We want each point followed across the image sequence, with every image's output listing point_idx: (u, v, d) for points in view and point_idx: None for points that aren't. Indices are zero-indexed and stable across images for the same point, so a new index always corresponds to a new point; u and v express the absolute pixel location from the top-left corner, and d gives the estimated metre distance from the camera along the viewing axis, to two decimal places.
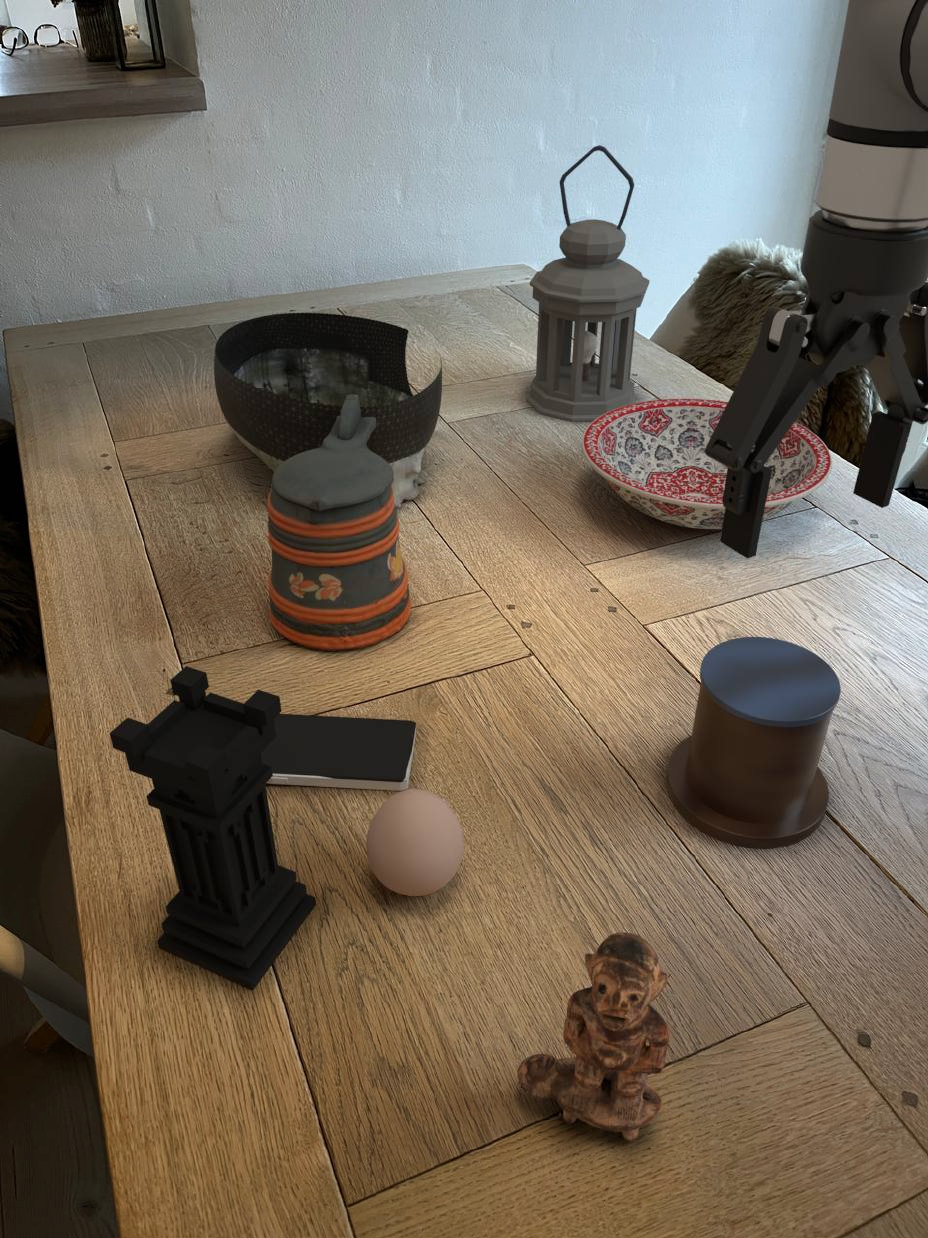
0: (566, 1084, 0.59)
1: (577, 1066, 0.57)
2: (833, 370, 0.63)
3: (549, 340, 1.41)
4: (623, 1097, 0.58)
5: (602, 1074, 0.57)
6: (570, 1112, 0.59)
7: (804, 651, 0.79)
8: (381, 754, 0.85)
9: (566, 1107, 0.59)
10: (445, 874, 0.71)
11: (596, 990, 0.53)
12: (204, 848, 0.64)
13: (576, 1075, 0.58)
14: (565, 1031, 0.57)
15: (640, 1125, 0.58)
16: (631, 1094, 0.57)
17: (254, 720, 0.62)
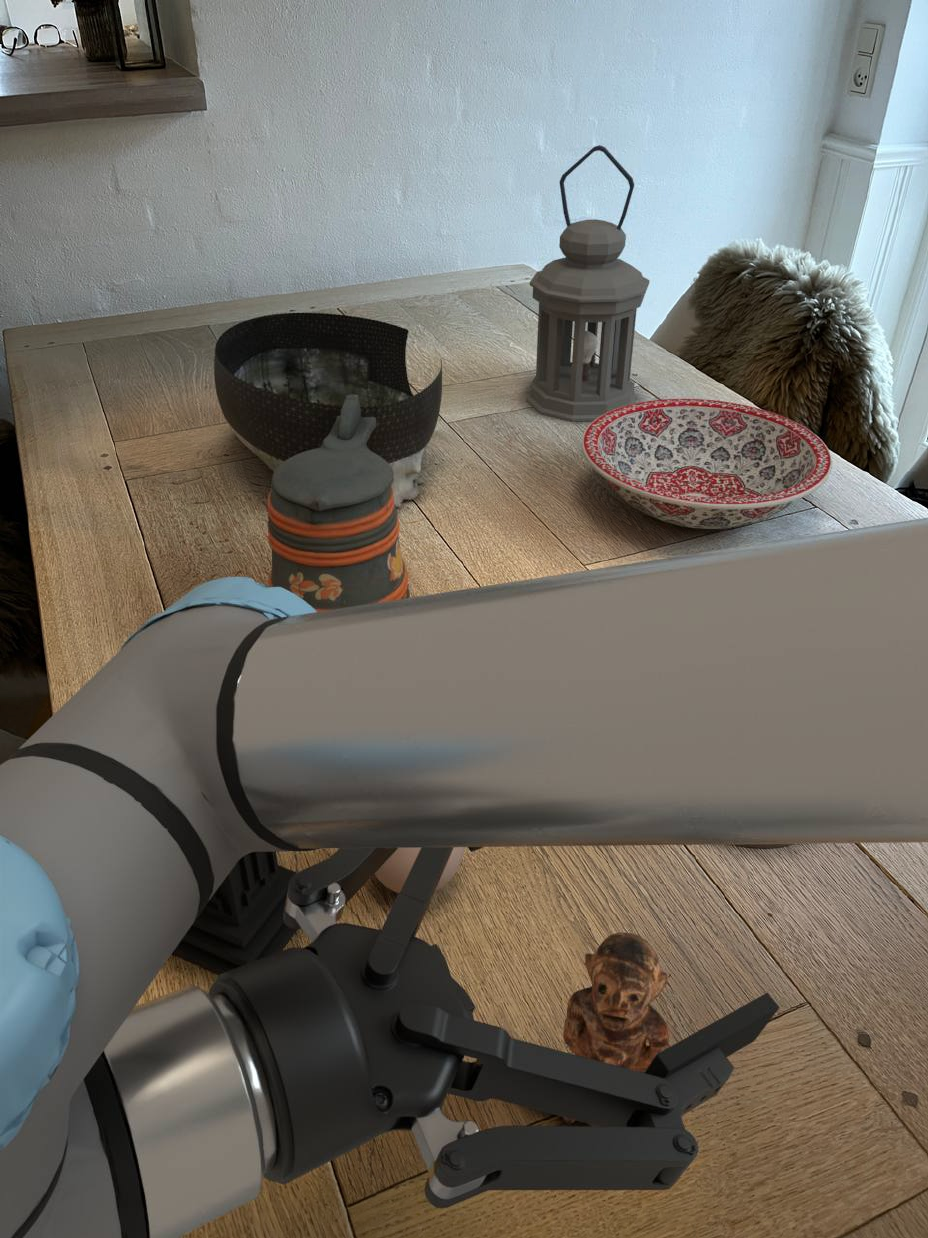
0: None
1: None
2: (484, 1035, 0.38)
3: (549, 340, 1.41)
4: None
5: None
6: None
7: None
8: None
9: None
10: (445, 874, 0.71)
11: (596, 990, 0.53)
12: None
13: None
14: (565, 1031, 0.57)
15: None
16: None
17: None
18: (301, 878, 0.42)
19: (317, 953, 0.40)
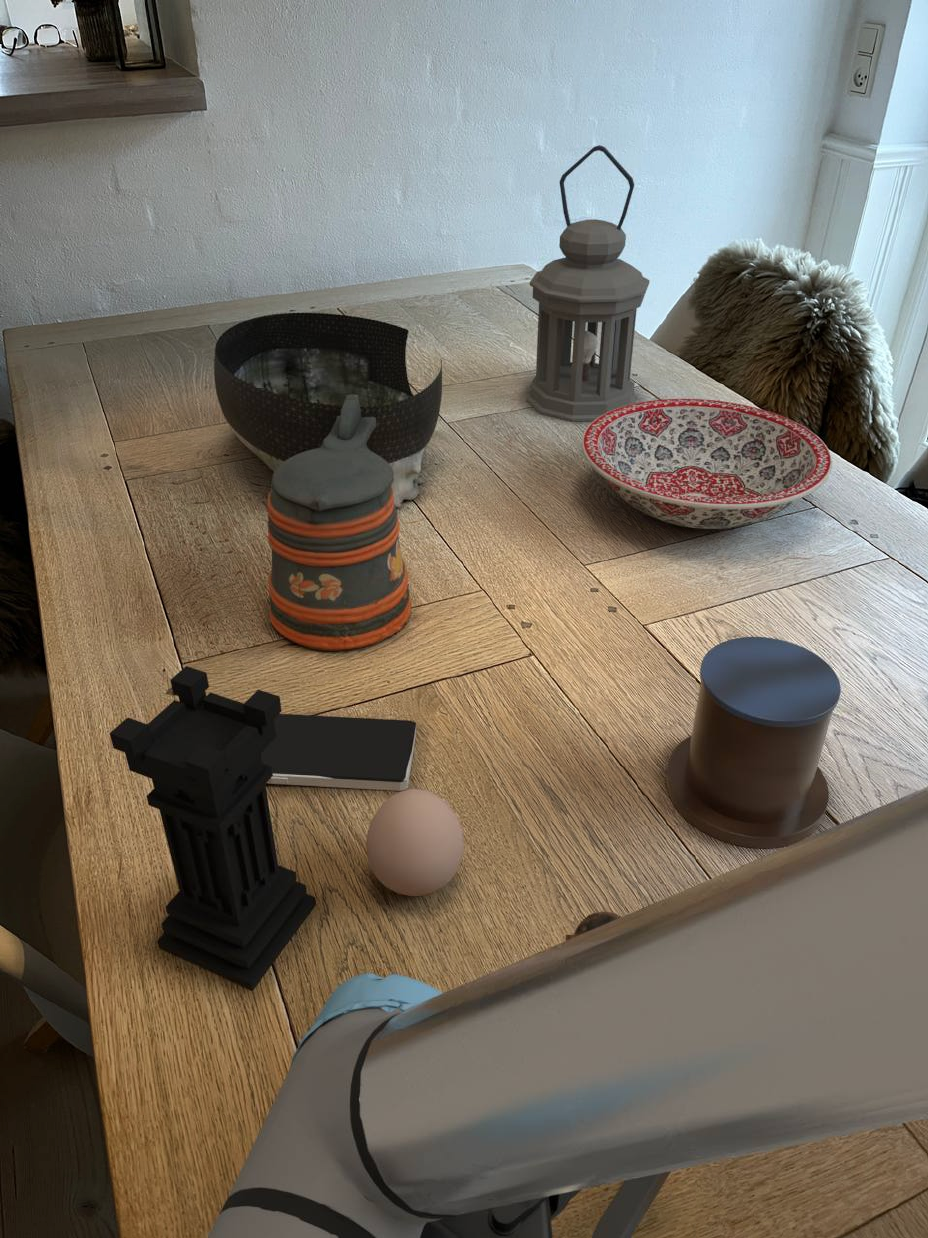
0: None
1: None
2: None
3: (549, 340, 1.41)
4: None
5: None
6: None
7: (804, 651, 0.79)
8: (381, 754, 0.85)
9: None
10: (445, 874, 0.71)
11: None
12: (204, 848, 0.64)
13: None
14: None
15: None
16: None
17: (254, 720, 0.62)
18: None
19: None
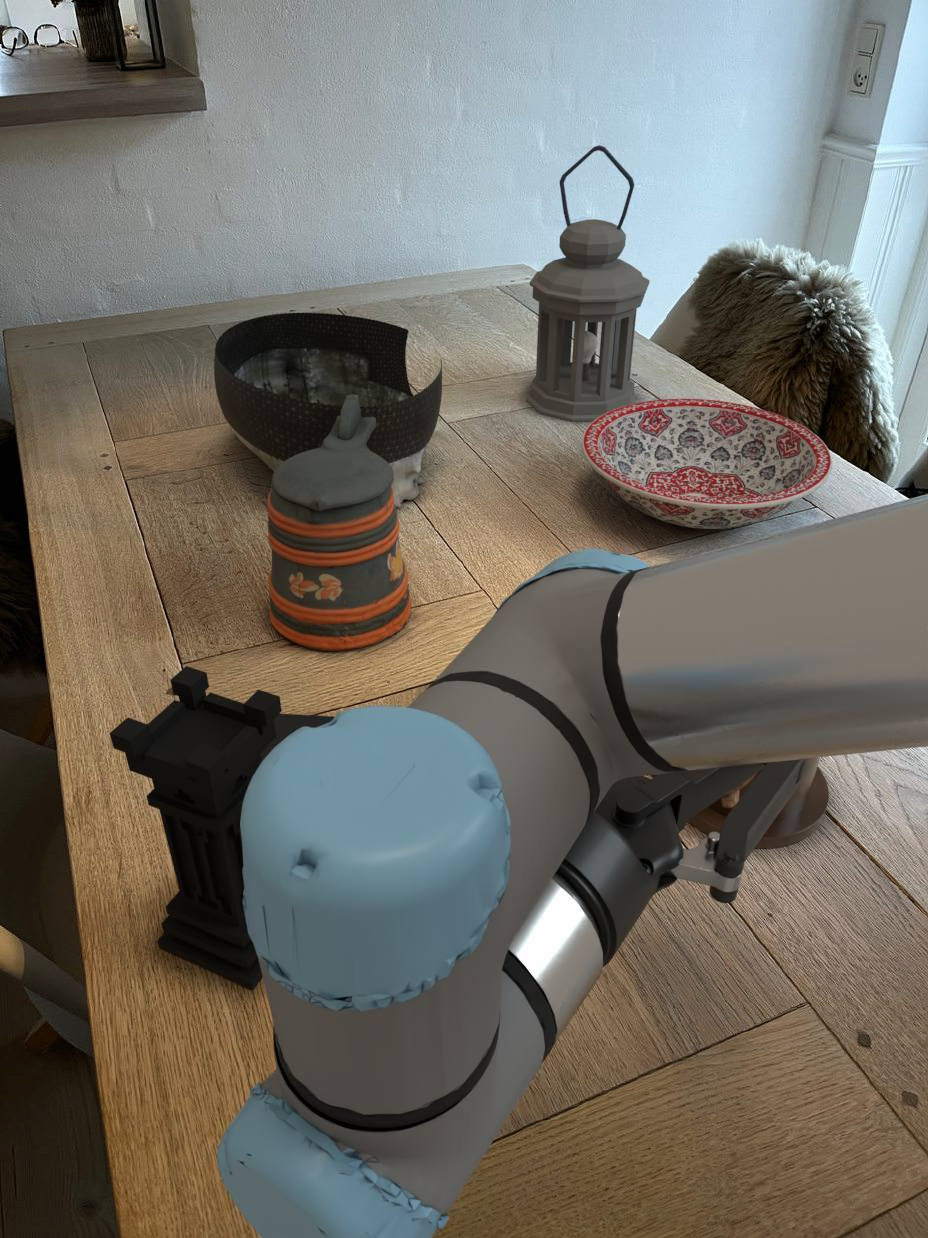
0: None
1: None
2: (668, 778, 0.47)
3: (549, 340, 1.41)
4: None
5: None
6: None
7: None
8: None
9: None
10: None
11: None
12: (204, 848, 0.64)
13: None
14: None
15: None
16: None
17: (254, 720, 0.62)
18: None
19: None
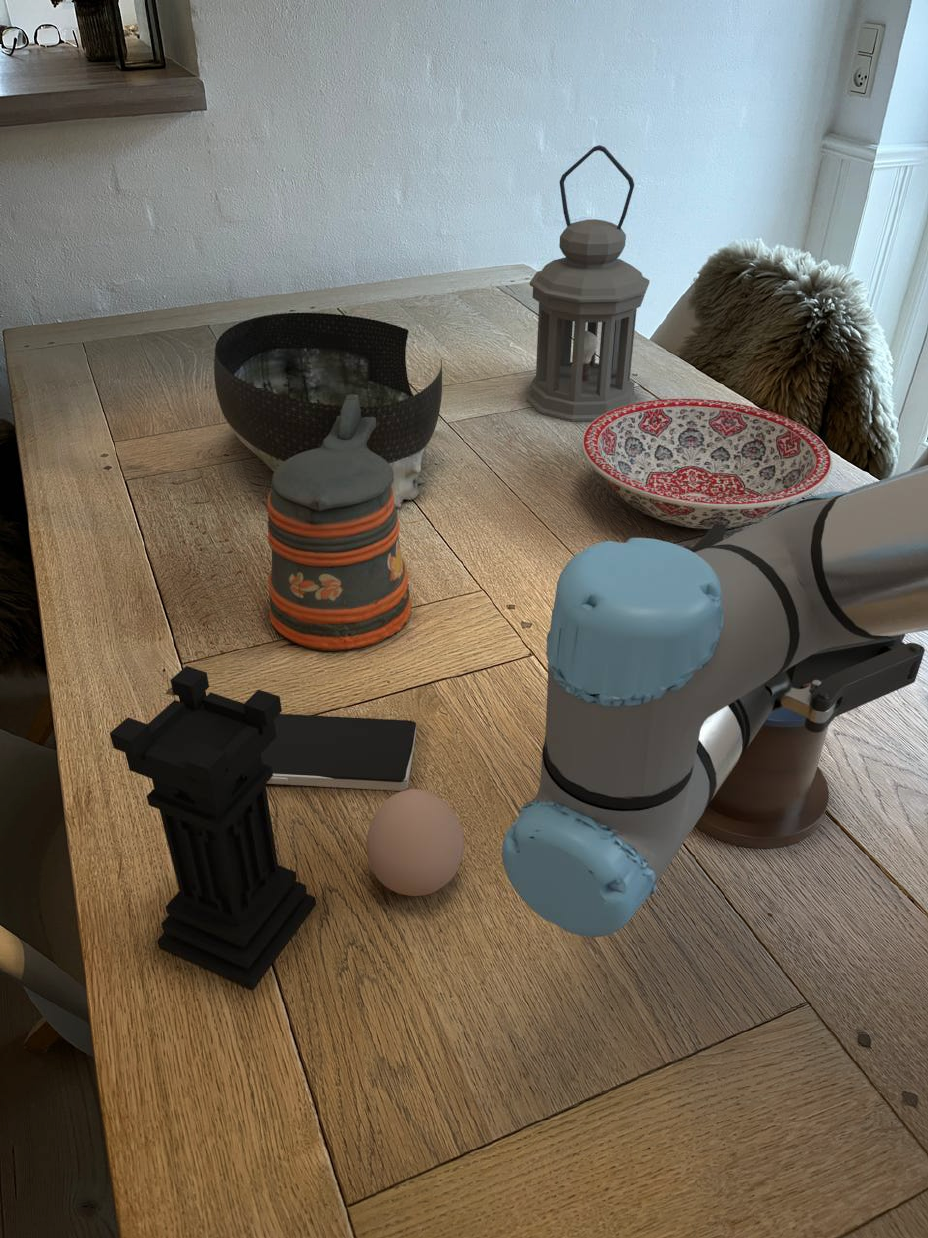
0: None
1: None
2: None
3: (549, 340, 1.41)
4: None
5: None
6: None
7: None
8: (381, 754, 0.85)
9: None
10: (445, 874, 0.71)
11: None
12: (204, 848, 0.64)
13: None
14: None
15: None
16: None
17: (254, 720, 0.62)
18: None
19: None
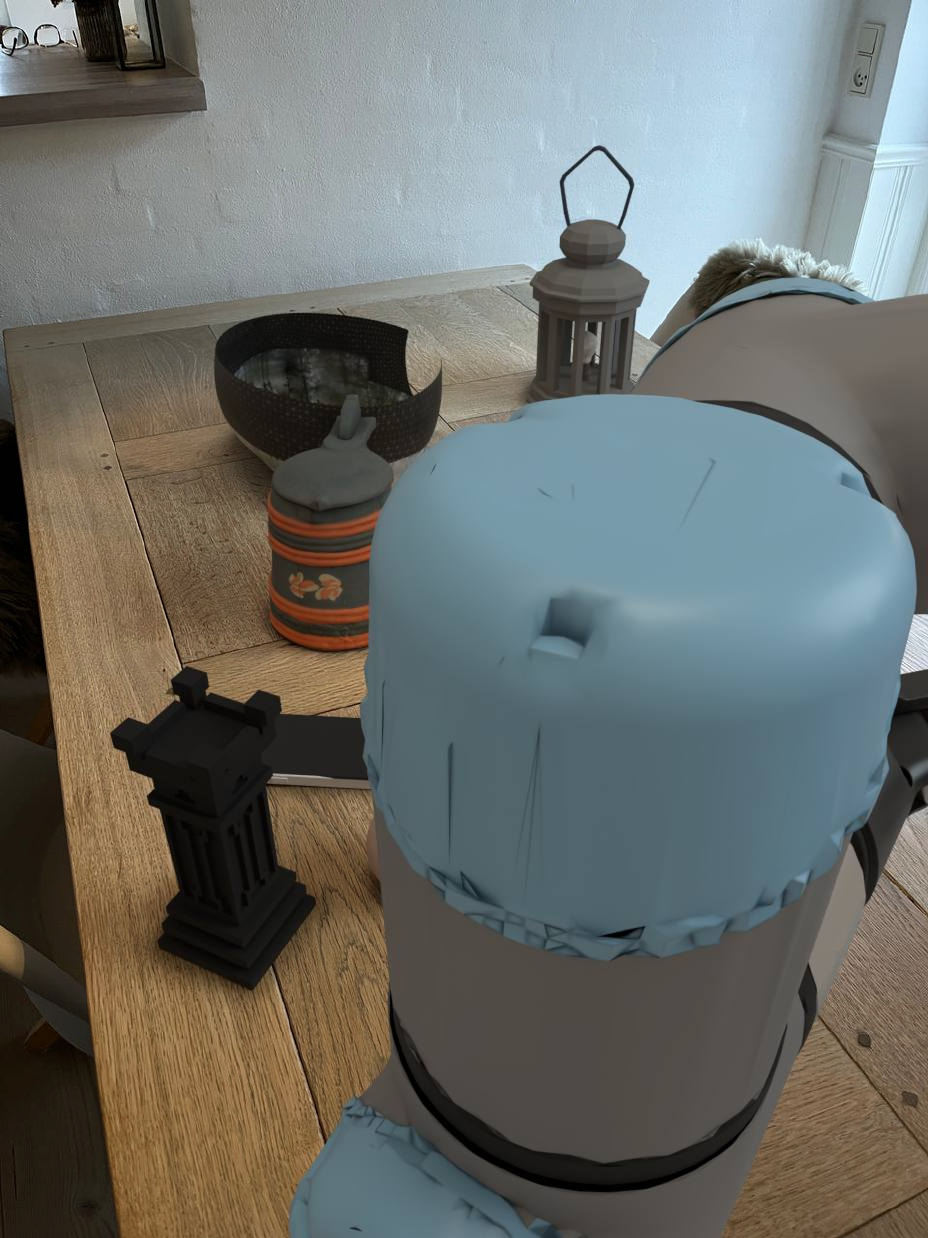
0: None
1: None
2: None
3: (549, 340, 1.41)
4: None
5: None
6: None
7: None
8: None
9: None
10: None
11: None
12: (204, 848, 0.64)
13: None
14: None
15: None
16: None
17: (254, 720, 0.62)
18: None
19: None
